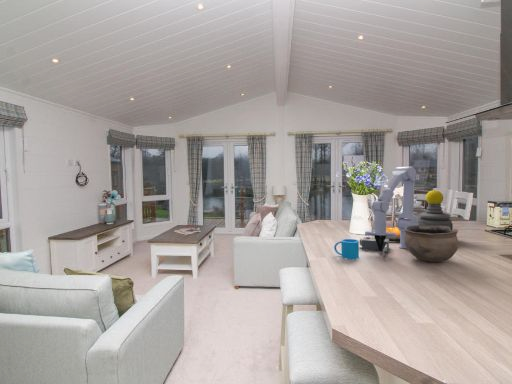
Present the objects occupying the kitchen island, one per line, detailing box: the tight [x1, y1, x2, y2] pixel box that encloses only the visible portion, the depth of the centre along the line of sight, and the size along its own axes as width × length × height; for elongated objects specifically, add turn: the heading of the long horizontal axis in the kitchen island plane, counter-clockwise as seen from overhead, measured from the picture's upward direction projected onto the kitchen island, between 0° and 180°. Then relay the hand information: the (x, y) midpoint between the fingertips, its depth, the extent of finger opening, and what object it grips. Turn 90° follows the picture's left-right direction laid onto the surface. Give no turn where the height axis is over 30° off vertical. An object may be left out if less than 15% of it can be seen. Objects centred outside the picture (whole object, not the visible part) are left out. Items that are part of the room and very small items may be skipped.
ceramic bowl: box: [404, 225, 459, 263], centre depth 146 cm, size 22×22×15 cm
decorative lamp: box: [418, 189, 454, 231], centre depth 186 cm, size 19×19×30 cm
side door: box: [382, 244, 389, 257], centre depth 159 cm, size 13×2×4 cm, turn 150°
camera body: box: [359, 236, 390, 252], centre depth 171 cm, size 15×8×6 cm, turn 63°
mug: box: [333, 238, 360, 260], centre depth 156 cm, size 12×8×8 cm
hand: (380, 250), depth 161 cm, fingers closed
